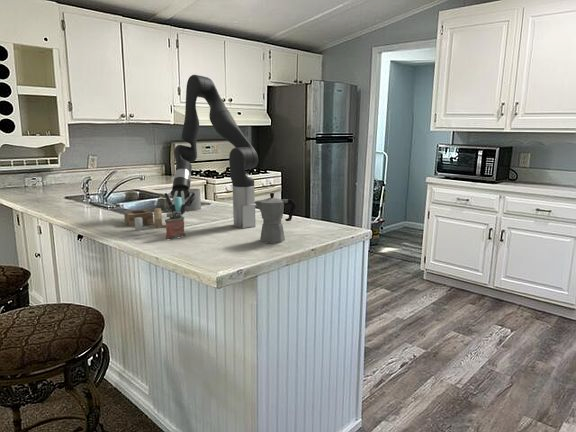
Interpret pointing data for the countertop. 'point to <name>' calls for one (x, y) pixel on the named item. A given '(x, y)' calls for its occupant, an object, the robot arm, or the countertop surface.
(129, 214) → the walnut block
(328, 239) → the countertop surface
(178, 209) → the teal pin
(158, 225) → the beech pin
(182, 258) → the countertop surface
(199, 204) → the coffee mug
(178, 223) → the lighter
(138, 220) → the grey pin
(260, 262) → the countertop surface
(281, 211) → the coffeepot
